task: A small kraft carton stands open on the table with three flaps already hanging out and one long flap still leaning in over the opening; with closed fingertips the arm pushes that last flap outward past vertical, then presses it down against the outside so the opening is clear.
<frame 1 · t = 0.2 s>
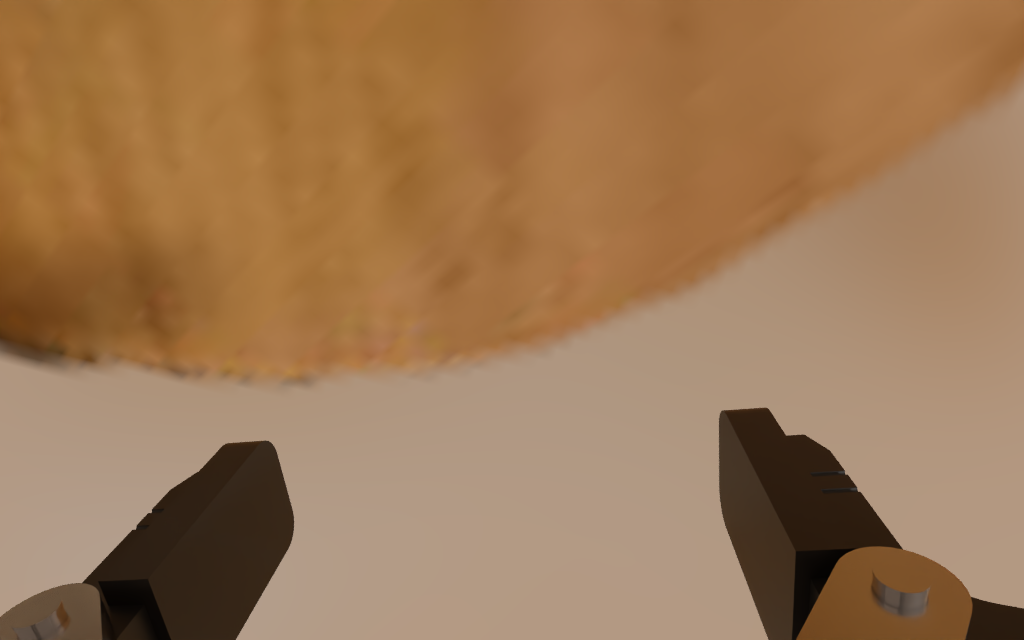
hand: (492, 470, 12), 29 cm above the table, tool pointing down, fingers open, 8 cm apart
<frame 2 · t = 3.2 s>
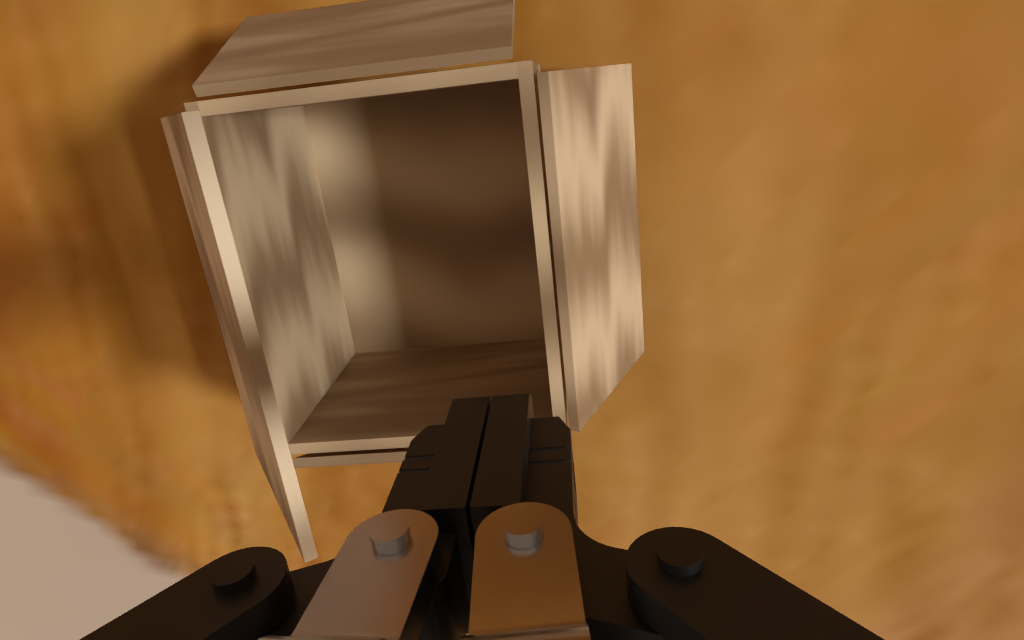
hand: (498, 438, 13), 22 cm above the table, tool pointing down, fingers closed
front flap: (235, 327, 21), point 14 cm above the table, hinge at -35.0°
carton: (437, 225, 33), on the table
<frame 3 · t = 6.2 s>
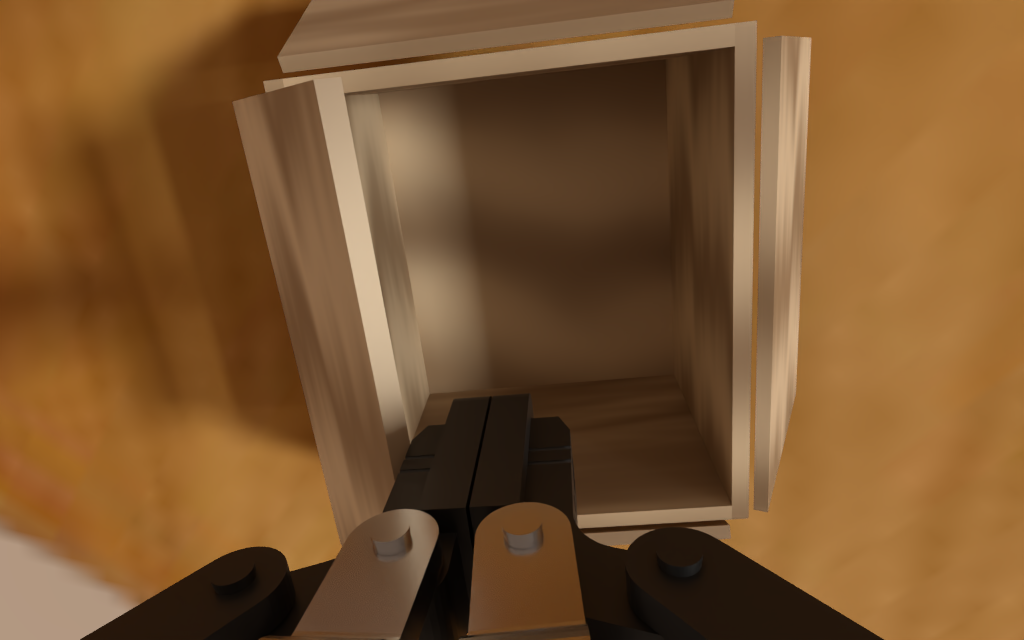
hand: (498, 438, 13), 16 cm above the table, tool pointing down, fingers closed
front flap: (340, 396, 15), point 14 cm above the table, hinge at -33.2°, touching gripper
carton: (536, 239, 27), on the table
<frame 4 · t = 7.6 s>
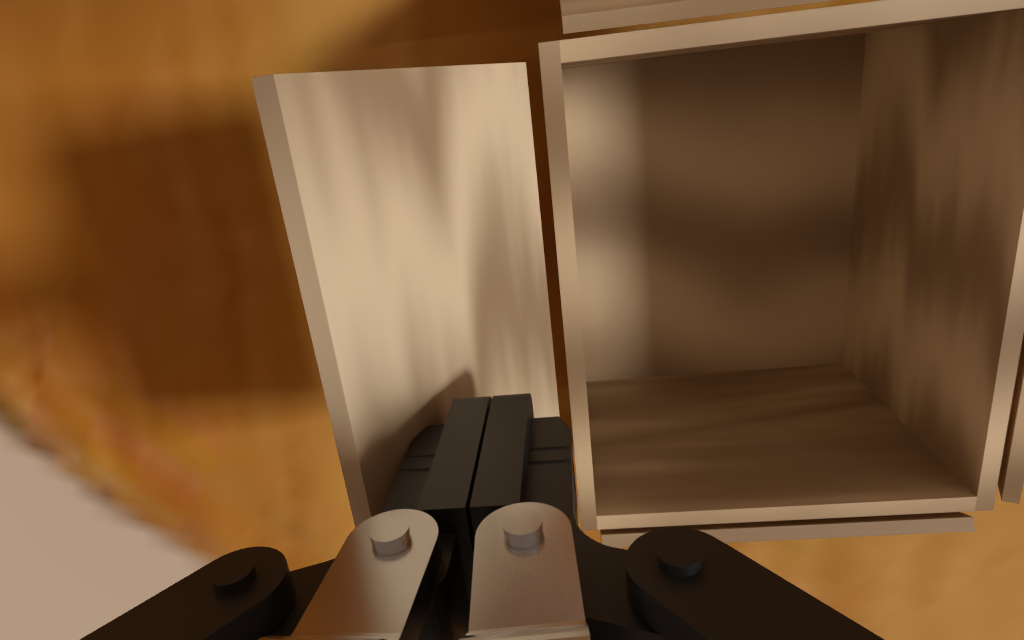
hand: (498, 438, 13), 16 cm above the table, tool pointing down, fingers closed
front flap: (473, 393, 14), point 14 cm above the table, hinge at 21.7°, touching gripper
carton: (706, 222, 26), on the table
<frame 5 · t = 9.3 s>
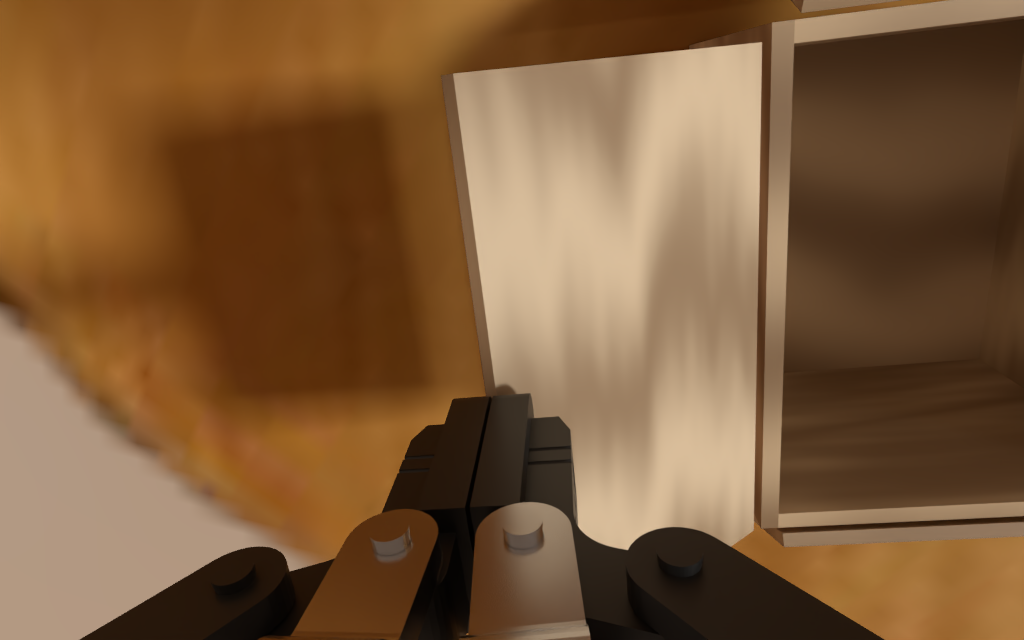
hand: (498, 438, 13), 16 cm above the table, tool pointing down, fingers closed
front flap: (640, 366, 15), point 13 cm above the table, hinge at 51.2°, touching gripper
carton: (845, 215, 26), on the table
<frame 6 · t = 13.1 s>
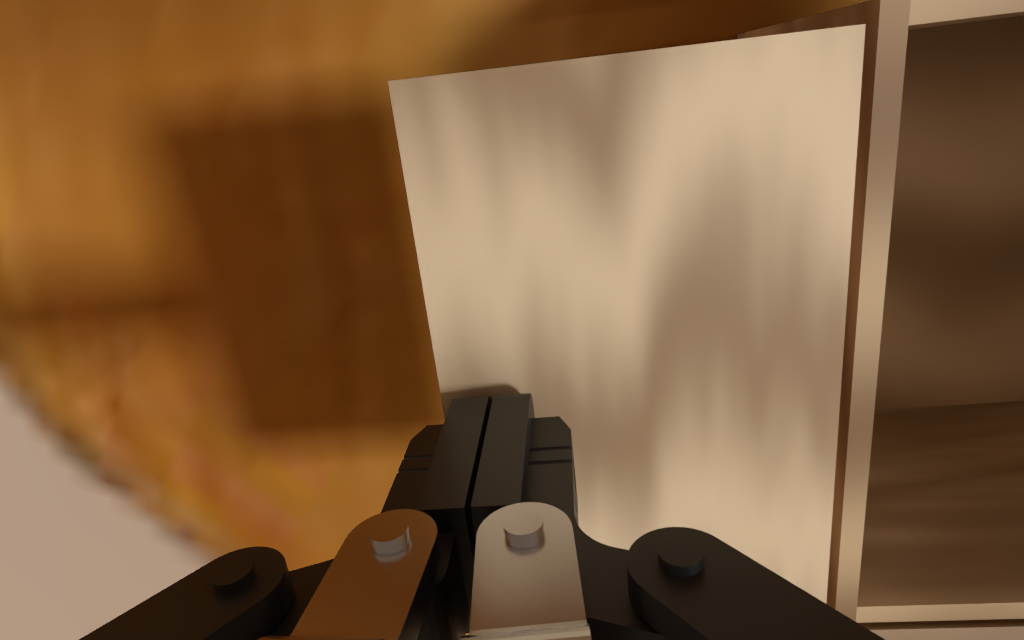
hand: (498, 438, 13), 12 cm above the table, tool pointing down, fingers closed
front flap: (645, 404, 13), point 11 cm above the table, hinge at 79.9°, touching gripper
carton: (915, 232, 22), on the table
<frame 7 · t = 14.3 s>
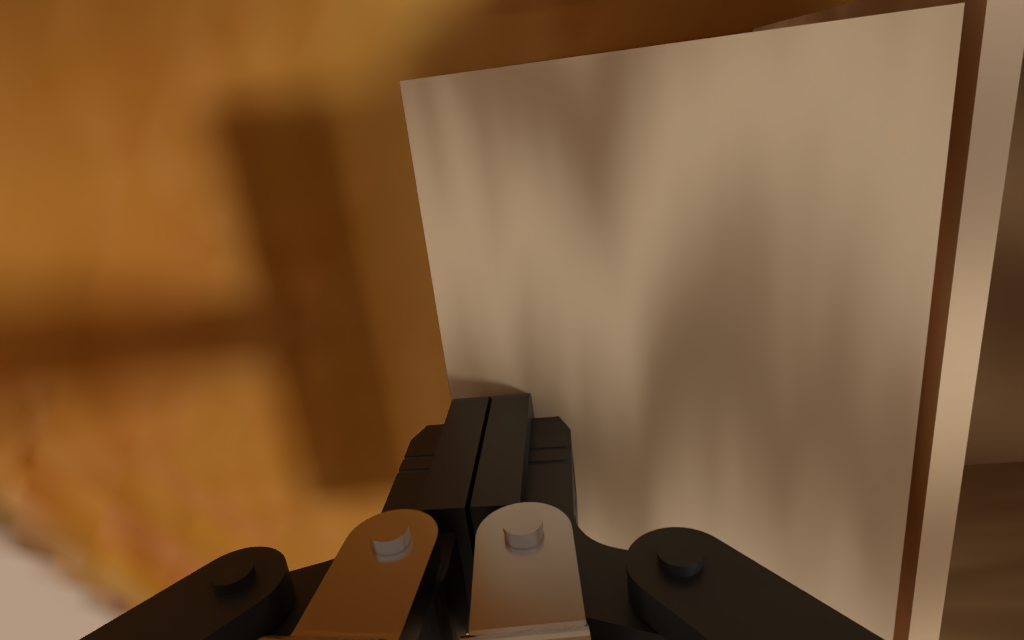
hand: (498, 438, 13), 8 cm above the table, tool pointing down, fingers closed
front flap: (648, 445, 12), point 9 cm above the table, hinge at 113.5°, touching gripper
carton: (961, 263, 19), on the table
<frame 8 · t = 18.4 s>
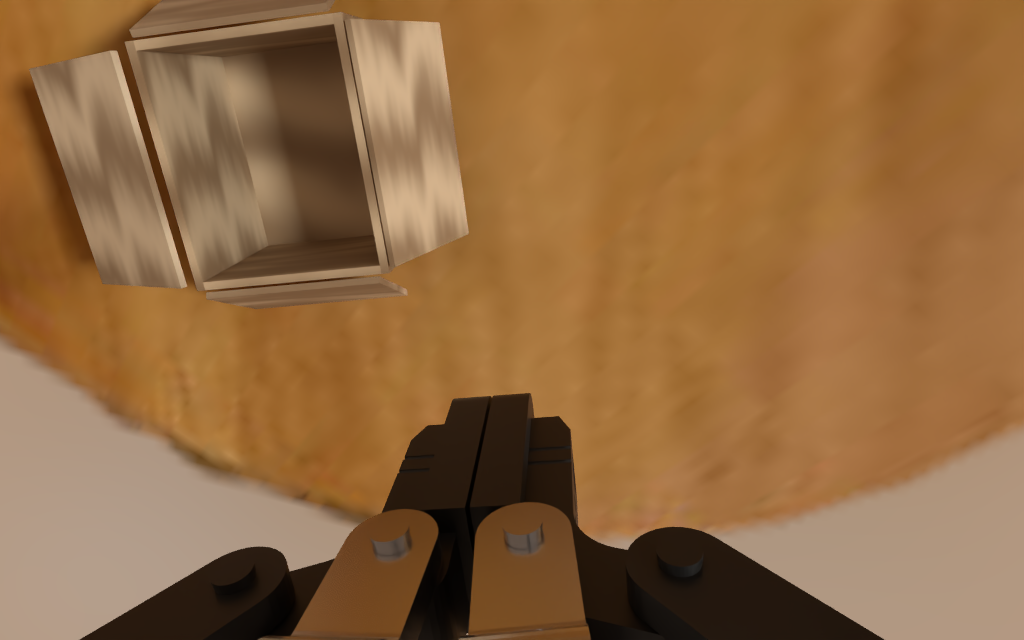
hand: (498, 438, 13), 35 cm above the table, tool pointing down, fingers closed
front flap: (109, 179, 38), point 9 cm above the table, hinge at 113.5°
carton: (324, 146, 45), on the table
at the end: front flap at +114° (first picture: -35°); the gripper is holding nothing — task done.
